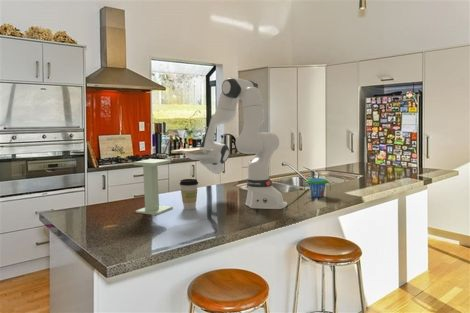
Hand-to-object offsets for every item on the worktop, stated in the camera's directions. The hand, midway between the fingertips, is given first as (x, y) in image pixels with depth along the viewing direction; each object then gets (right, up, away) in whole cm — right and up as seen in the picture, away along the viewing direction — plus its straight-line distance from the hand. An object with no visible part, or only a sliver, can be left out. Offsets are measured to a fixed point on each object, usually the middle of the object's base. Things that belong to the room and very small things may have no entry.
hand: (196, 148), depth 203 cm
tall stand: (-21, -32, -8) cm, 39 cm away
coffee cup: (-3, -32, -4) cm, 32 cm away
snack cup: (+70, -28, +18) cm, 77 cm away
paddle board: (-2, -2, -4) cm, 4 cm away
